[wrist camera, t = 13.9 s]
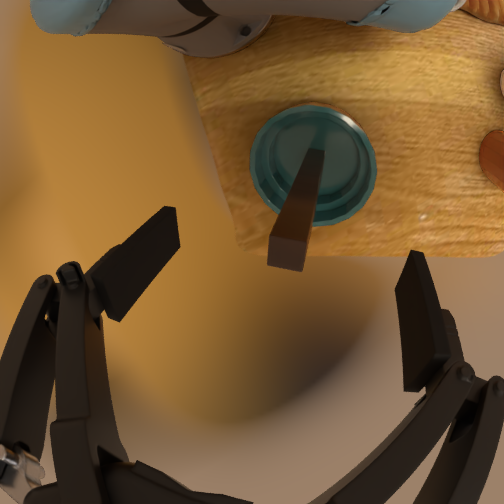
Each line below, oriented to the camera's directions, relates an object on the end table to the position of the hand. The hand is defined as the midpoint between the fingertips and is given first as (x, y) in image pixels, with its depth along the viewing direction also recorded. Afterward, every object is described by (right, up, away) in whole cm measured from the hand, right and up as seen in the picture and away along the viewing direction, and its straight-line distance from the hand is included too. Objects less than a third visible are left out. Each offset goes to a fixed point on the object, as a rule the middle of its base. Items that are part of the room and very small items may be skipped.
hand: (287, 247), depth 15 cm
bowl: (+6, +11, +16) cm, 21 cm away
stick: (+5, +11, +16) cm, 20 cm away
